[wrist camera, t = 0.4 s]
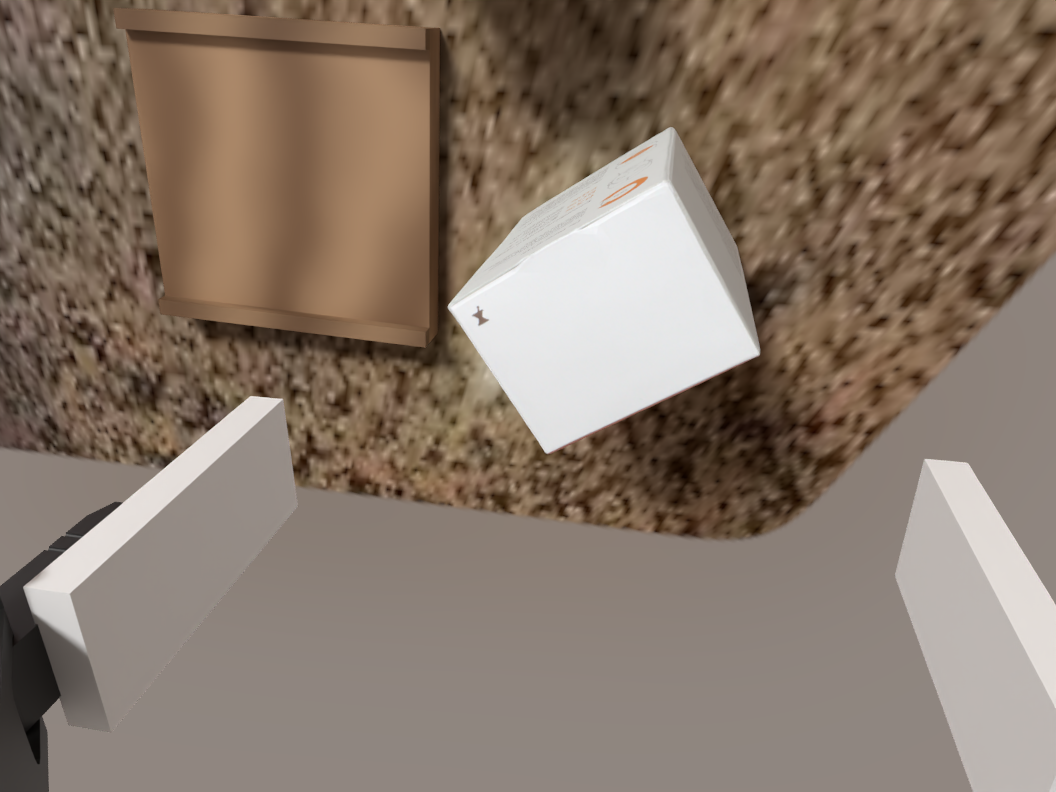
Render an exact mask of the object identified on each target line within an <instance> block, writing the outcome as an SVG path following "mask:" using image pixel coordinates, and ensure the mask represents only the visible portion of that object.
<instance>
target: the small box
mask: <svg viewBox="0 0 1056 792" xmlns="http://www.w3.org/2000/svg"><path fill="white" fill-rule="evenodd" d="M448 309H449V310H450V312H451V313H452V314H453V316H454V317H455V319H456V320H457V321H458V323H459V324H460V326H461V327H462V329H463V330H464V332H465V333H466V334H467V336H468V337H469V339H470V340H471V342H472V343H473V345H474V346H475V348H476V349H477V351H478V352H479V354H480V355H481V357H482V358H483V360H484V361H485V363H486V364H487V366H488V367H489V369H490V370H491V372H492V373H493V375H494V376H495V378H496V379H497V381H498V382H499V384H500V385H501V387H502V388H503V390H504V391H505V393H506V394H507V396H508V397H509V399H510V400H511V402H512V403H513V405H514V406H515V408H516V409H517V411H518V412H519V414H520V415H521V417H522V418H523V420H524V421H525V423H526V424H527V426H528V427H529V429H530V430H531V432H532V433H533V435H534V436H535V437H536V439H537V440H538V442H539V443H540V445H541V447H542V448H543V450H544V451H545V453H546V454H551V453H553V452H556V451H558V450H560V449H562V448H564V447H566V446H568V445H571V444H573V443H575V442H577V441H579V440H581V439H583V438H585V437H587V436H589V435H592V434H594V433H596V432H598V431H600V430H602V429H605V428H607V427H609V426H611V425H613V424H615V423H617V422H620V421H622V420H624V419H626V418H628V417H630V416H632V415H634V414H636V413H638V412H641V411H643V410H645V409H647V408H650V407H652V406H654V405H656V404H658V403H660V402H662V401H664V400H667V399H669V398H671V397H673V396H675V395H677V394H680V393H682V392H684V391H686V390H688V389H690V388H692V387H694V386H696V385H699V384H701V383H703V382H705V381H707V380H709V379H711V378H713V377H715V376H718V375H720V374H722V373H724V372H726V371H728V370H730V369H732V368H735V367H737V366H739V365H741V364H743V363H745V362H747V361H749V360H751V359H753V358H756V357H758V356H760V346H759V340H758V336H757V332H756V328H755V323H754V319H753V315H752V309H751V305H750V301H749V296H748V291H747V287H746V282H745V278H744V273H743V269H742V265H741V261H740V257H739V252H738V248H737V246H736V244H735V242H734V240H733V238H732V236H731V234H730V232H729V230H728V228H727V227H726V225H725V223H724V221H723V219H722V217H721V215H720V213H719V211H718V210H717V208H716V206H715V204H714V202H713V200H712V198H711V196H710V194H709V192H708V191H707V189H706V187H705V185H704V183H703V181H702V179H701V177H700V175H699V174H698V172H697V170H696V168H695V166H694V164H693V162H692V160H691V158H690V156H689V155H688V153H687V151H686V149H685V147H684V145H683V143H682V141H681V139H680V137H679V135H678V134H677V132H676V130H675V129H674V128H673V127H670V128H668V129H666V130H664V131H663V132H661V133H659V134H657V135H656V136H654V137H652V138H651V139H649V140H647V141H646V142H644V143H642V144H641V145H639V146H637V147H636V148H634V149H632V150H631V151H629V152H627V153H626V154H624V155H622V156H621V157H619V158H617V159H616V160H614V161H612V162H611V163H609V164H607V165H606V166H604V167H603V168H601V169H599V170H598V171H596V172H594V173H593V174H591V175H589V176H588V177H586V178H585V179H583V180H581V181H580V182H578V183H576V184H575V185H573V186H571V187H570V188H568V189H567V190H565V191H563V192H562V193H560V194H558V195H557V196H555V197H553V198H552V199H550V200H549V201H547V202H545V203H544V204H542V205H541V206H539V207H537V208H536V209H534V210H533V211H531V212H530V213H528V214H527V215H525V216H524V217H523V218H522V219H521V220H520V221H519V223H518V224H517V225H516V226H515V227H514V229H513V230H512V231H511V232H510V234H509V235H508V236H507V237H506V239H505V240H504V241H503V242H502V243H501V245H500V246H499V247H498V248H497V249H496V250H495V251H494V253H493V254H492V255H491V256H490V257H489V258H488V259H487V260H486V261H485V262H484V264H483V265H482V266H481V267H480V268H479V269H478V270H477V272H476V273H475V274H474V275H473V277H472V278H471V279H470V280H469V281H468V282H467V283H466V285H465V286H464V287H463V288H462V289H461V290H460V292H459V293H458V294H457V295H456V296H455V298H454V299H453V300H452V301H451V302H450V304H449V305H448Z"/></svg>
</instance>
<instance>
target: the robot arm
mask: <svg viewBox="0 0 1056 792" xmlns="http://www.w3.org/2000/svg"><path fill="white" fill-rule="evenodd" d="M297 506H298V504H297V497H296V489H295V482H294V475H293V468H292V460H291V453H290V446H289V439H288V431H287V424H286V417H285V410H284V402H283V399H276V398H266V397H255V396H250V397H249V398H248V399H247V400H245V401H244V402H243V403H242V404H241V405H239V406H238V407H237V408H236V409H235V410H233V411H232V412H231V413H230V414H229V415H227V416H226V417H225V418H224V419H223V420H221V421H220V422H219V423H218V424H217V425H216V426H214V427H213V428H212V429H211V430H210V431H208V432H207V433H206V434H205V435H204V436H202V437H201V438H200V439H199V440H198V441H196V442H195V443H194V444H193V445H192V446H190V447H189V448H188V449H187V450H186V451H185V452H183V453H182V454H181V455H180V456H179V457H177V458H176V459H175V460H174V461H173V462H171V463H170V464H169V465H168V466H167V467H165V468H164V469H163V470H162V471H161V472H159V473H158V474H157V475H156V476H155V477H154V478H152V479H151V480H150V481H149V482H148V483H147V484H145V485H144V486H143V487H142V488H140V489H139V490H138V491H137V492H136V493H134V494H133V495H132V496H131V497H130V498H129V499H127V500H126V501H125V502H124V503H121V502H114V503H112V504H110V505H108V506H106V507H104V508H102V509H100V510H98V511H96V512H94V513H92V514H90V515H88V516H86V517H85V518H84V519H82V520H81V521H80V522H79V523H78V524H76V525H75V526H74V527H73V528H71V529H70V530H69V531H68V532H66V536H65V537H64V536H61V537H60V538H59V539H58V540H57V541H55V542H54V543H53V544H52V545H50V546H49V550H48V551H46V550H44V551H43V552H42V553H40V554H39V555H38V556H37V557H36V558H34V559H33V560H32V561H31V562H29V563H28V564H27V565H26V566H25V567H23V568H22V569H21V570H20V571H18V572H17V573H16V574H15V575H13V576H12V577H11V578H10V579H9V580H7V581H6V582H5V583H3V584H2V585H1V586H0V792H49V784H48V738H47V729H46V727H45V724H44V721H43V718H42V715H43V714H44V713H45V712H46V711H47V710H48V709H49V708H50V707H51V706H52V705H53V704H54V703H55V702H56V701H57V699H58V698H60V701H61V704H62V707H63V710H64V713H65V716H66V719H67V722H68V725H71V726H77V727H82V728H88V729H94V730H99V731H106V732H112V731H113V730H114V729H115V727H116V726H117V725H118V724H119V722H120V721H121V720H122V719H123V718H124V717H125V715H126V714H127V713H128V712H129V711H130V709H131V708H132V707H133V706H134V704H135V703H136V702H137V701H138V700H139V698H140V697H141V696H142V695H143V693H144V692H145V691H146V690H147V688H148V687H149V686H150V685H151V684H152V683H153V681H154V680H155V679H156V678H157V676H158V675H159V674H160V673H161V672H162V670H163V669H164V668H165V667H166V666H167V664H168V663H169V662H170V661H171V659H172V658H173V657H174V656H175V654H176V653H177V652H178V651H179V650H180V649H181V647H182V646H183V645H184V644H185V642H186V641H187V640H188V639H189V638H190V636H191V635H192V634H193V633H194V632H195V630H196V629H197V628H198V627H199V625H200V624H201V623H202V622H203V621H204V619H205V618H206V617H207V616H208V614H209V613H210V612H211V611H212V610H213V608H214V607H215V606H216V605H217V604H218V602H219V601H220V600H221V599H222V598H223V596H224V595H225V594H226V593H227V591H228V590H229V589H230V588H231V587H232V585H233V584H234V583H235V582H236V580H237V579H238V578H239V577H240V576H241V574H242V573H243V572H244V571H245V570H246V568H247V567H248V566H249V565H250V564H251V562H252V561H253V560H254V559H255V557H256V556H257V555H258V554H259V553H260V551H261V550H262V549H263V548H264V547H265V545H266V544H267V543H268V542H269V540H270V539H271V538H272V537H273V536H274V534H275V533H276V532H277V531H278V529H279V528H280V527H281V526H282V525H283V523H284V522H285V521H286V520H287V519H288V517H289V516H290V515H291V514H292V512H293V511H294V510H295V509H296V508H297ZM895 577H896V580H897V583H898V585H899V588H900V591H901V594H902V596H903V599H904V602H905V605H906V608H907V611H908V613H909V616H910V619H911V622H912V624H913V627H914V630H915V632H916V635H917V638H918V641H919V644H920V647H921V649H922V652H923V655H924V658H925V660H926V663H927V666H928V669H929V671H930V674H931V677H932V680H933V683H934V685H935V688H936V691H937V694H938V696H939V699H940V702H941V704H942V707H943V710H944V713H945V716H946V719H947V721H948V724H949V727H950V730H951V732H952V735H953V738H954V741H955V743H956V746H957V749H958V752H959V754H960V757H961V760H962V763H963V766H964V768H965V771H966V774H967V776H968V779H969V782H970V785H971V788H972V790H973V792H1056V605H1055V603H1054V601H1053V600H1052V598H1051V597H1050V595H1049V593H1048V592H1047V590H1046V588H1045V587H1044V585H1043V584H1042V582H1041V580H1040V579H1039V577H1038V576H1037V574H1036V572H1035V571H1034V569H1033V568H1032V566H1031V565H1030V563H1029V561H1028V559H1027V558H1026V556H1025V555H1024V553H1023V551H1022V550H1021V548H1020V547H1019V545H1018V543H1017V542H1016V540H1015V539H1014V537H1013V535H1012V534H1011V532H1010V530H1009V529H1008V527H1007V526H1006V524H1005V522H1004V521H1003V519H1002V517H1001V516H1000V514H999V513H998V511H997V509H996V508H995V506H994V505H993V503H992V501H991V500H990V498H989V496H988V495H987V493H986V492H985V490H984V488H983V487H982V485H981V484H980V482H979V481H978V479H977V477H976V475H975V474H974V472H973V471H972V469H971V467H970V466H969V464H968V463H964V462H953V461H942V460H932V459H924V463H923V467H922V470H921V474H920V478H919V482H918V486H917V490H916V494H915V499H914V502H913V506H912V510H911V514H910V518H909V522H908V526H907V530H906V534H905V538H904V542H903V546H902V550H901V554H900V558H899V562H898V566H897V570H896V574H895Z"/></svg>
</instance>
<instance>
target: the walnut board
mask: <svg viewBox="0 0 1056 792" xmlns="http://www.w3.org/2000/svg"><path fill="white" fill-rule="evenodd" d="M113 9H114V16H115V22H116V28H117V29H125V30H126V37H127V43H128V50H129V57H130V63H131V70H132V77H133V83H134V90H135V97H136V103H137V110H138V117H139V123H140V130H141V137H142V143H143V150H144V157H145V163H146V170H147V177H148V183H149V190H150V197H151V203H152V210H153V217H154V223H155V230H156V237H157V244H158V250H159V257H160V264H161V270H162V277H163V284H164V290H165V296H164V297H162V298H160V299H158V301H159V307H160V314H163V315H171V316H179V317H187V318H195V319H202V320H210V321H218V322H226V323H234V324H242V325H250V326H258V327H266V328H274V329H282V330H290V331H298V332H305V333H313V334H321V335H329V336H337V337H345V338H353V339H361V340H369V341H377V342H385V343H393V344H401V345H409V346H416V347H424V348H426V347H427V345H428V344H429V343H430V342H431V341H432V339H433V338H434V337H435V336H436V335H437V333H438V272H439V120H440V28H428V27H413V26H398V25H382V24H367V23H352V22H336V21H321V20H306V19H291V18H275V17H260V16H245V15H229V14H214V13H199V12H184V11H168V10H153V9H129V8H113Z"/></svg>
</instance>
